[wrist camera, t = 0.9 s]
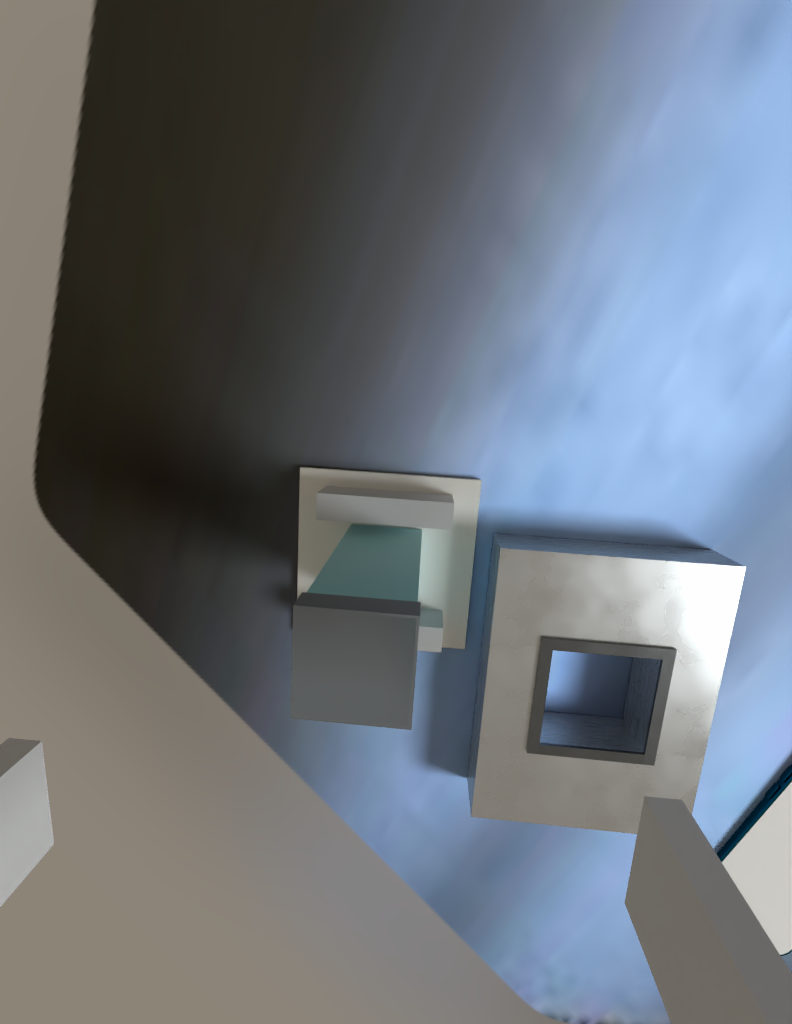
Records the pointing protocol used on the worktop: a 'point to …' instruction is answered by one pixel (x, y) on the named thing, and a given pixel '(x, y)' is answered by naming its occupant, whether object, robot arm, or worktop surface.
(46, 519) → the worktop surface
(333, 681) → the plug
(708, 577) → the port panel
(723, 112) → the worktop surface
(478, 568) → the worktop surface
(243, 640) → the worktop surface
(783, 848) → the smartphone
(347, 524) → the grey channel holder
